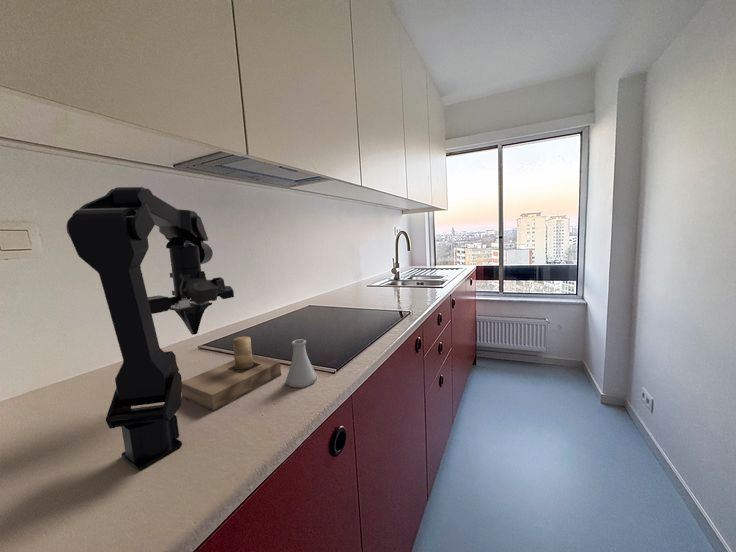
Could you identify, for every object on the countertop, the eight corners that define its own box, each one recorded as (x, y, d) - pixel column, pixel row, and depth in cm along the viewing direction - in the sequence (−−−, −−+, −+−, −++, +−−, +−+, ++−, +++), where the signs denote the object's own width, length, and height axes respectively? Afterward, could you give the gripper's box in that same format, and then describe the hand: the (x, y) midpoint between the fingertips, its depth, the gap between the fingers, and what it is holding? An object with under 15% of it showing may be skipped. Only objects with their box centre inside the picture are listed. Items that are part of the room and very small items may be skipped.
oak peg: (232, 380, 74) (228, 340, 73) (247, 373, 78) (243, 335, 76) (243, 383, 72) (239, 343, 71) (258, 376, 76) (254, 337, 74)
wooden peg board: (213, 411, 62) (212, 395, 61) (182, 397, 68) (180, 382, 67) (281, 375, 77) (280, 361, 76) (250, 366, 83) (249, 353, 83)
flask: (279, 385, 72) (276, 344, 70) (299, 372, 78) (297, 334, 77) (303, 391, 68) (300, 348, 67) (322, 377, 75) (320, 338, 73)
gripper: (156, 274, 57) (167, 354, 59) (244, 264, 72) (250, 327, 74) (132, 272, 63) (142, 344, 65) (218, 263, 78) (224, 322, 80)
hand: (194, 334), depth 71 cm, fingers closed
